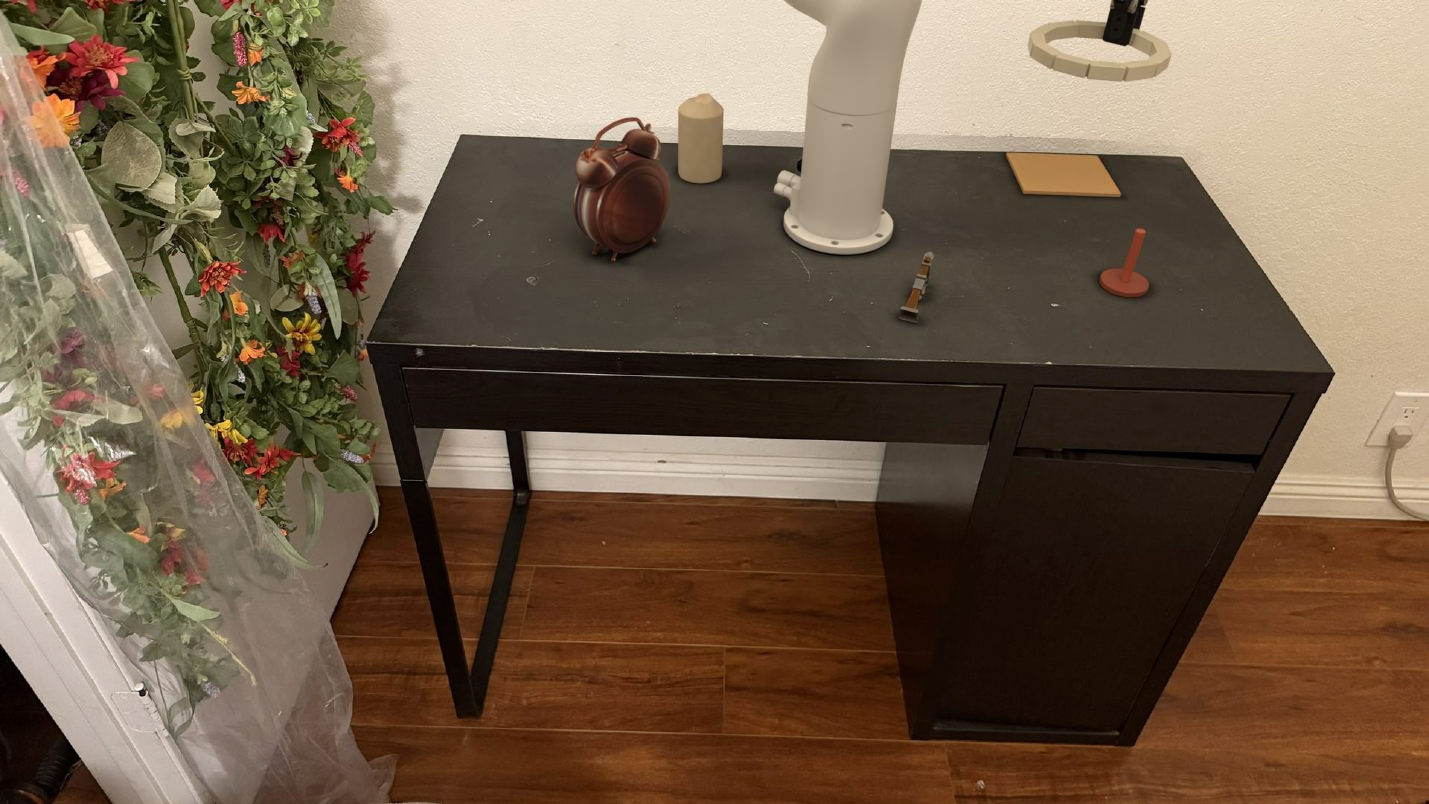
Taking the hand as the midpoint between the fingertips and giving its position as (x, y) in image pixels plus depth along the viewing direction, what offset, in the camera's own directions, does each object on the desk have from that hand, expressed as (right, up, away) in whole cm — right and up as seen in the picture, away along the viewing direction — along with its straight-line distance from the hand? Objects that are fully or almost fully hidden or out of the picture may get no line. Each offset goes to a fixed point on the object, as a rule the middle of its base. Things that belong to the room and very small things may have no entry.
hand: (1119, 39), depth 121 cm
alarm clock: (-60, -27, -11) cm, 66 cm away
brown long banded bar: (-29, -34, -18) cm, 48 cm away
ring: (-4, -3, -4) cm, 7 cm away
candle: (-51, -16, +4) cm, 54 cm away
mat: (-5, -15, +6) cm, 17 cm away
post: (-5, -32, -14) cm, 35 cm away
